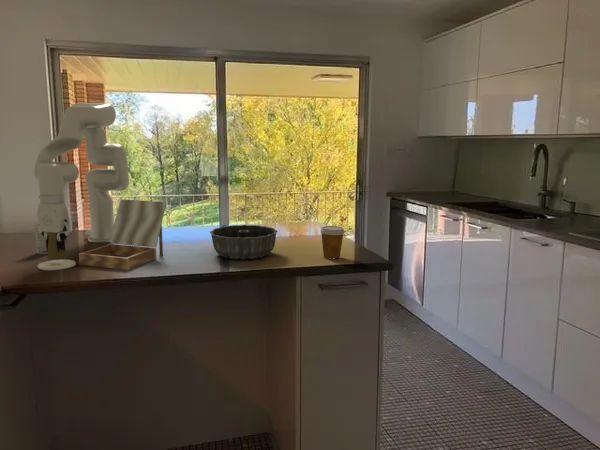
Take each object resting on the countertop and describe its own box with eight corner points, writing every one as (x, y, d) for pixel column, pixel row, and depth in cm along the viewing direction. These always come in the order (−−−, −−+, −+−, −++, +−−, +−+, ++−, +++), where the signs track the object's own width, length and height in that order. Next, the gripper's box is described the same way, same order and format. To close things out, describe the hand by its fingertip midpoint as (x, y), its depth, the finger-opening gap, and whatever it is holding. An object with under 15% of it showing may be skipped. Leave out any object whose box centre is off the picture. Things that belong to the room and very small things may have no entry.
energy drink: (55, 252, 191) (53, 222, 189) (44, 255, 186) (42, 224, 184) (45, 250, 193) (42, 221, 191) (33, 253, 188) (31, 223, 186)
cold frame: (79, 264, 174) (75, 207, 170) (123, 249, 198) (121, 199, 194) (127, 269, 168) (125, 210, 164) (167, 253, 192) (166, 201, 188)
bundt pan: (222, 266, 175) (222, 239, 173) (202, 251, 198) (201, 227, 196) (288, 259, 187) (288, 234, 185) (261, 245, 210) (261, 223, 208)
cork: (51, 255, 173) (49, 225, 171) (68, 255, 174) (66, 225, 172) (44, 259, 167) (41, 228, 166) (62, 259, 168) (59, 228, 166)
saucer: (29, 268, 167) (29, 266, 167) (56, 260, 179) (56, 258, 178) (57, 271, 164) (57, 269, 164) (83, 263, 175) (83, 261, 175)
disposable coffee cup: (346, 256, 193) (348, 227, 191) (338, 261, 184) (339, 230, 182) (324, 253, 197) (325, 224, 195) (315, 258, 188) (316, 228, 186)
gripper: (24, 199, 166) (28, 251, 169) (63, 202, 161) (67, 255, 164) (41, 197, 173) (45, 247, 176) (80, 199, 168) (83, 250, 172)
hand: (56, 250), depth 170 cm, fingers closed on cork, 3 cm apart
